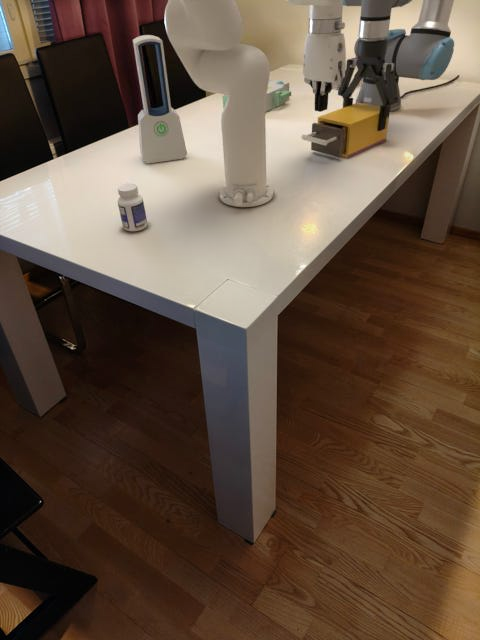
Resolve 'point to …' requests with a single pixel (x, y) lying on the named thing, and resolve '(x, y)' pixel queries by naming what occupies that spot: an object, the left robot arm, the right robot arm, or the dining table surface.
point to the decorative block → (272, 94)
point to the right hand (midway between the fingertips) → (363, 126)
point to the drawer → (328, 138)
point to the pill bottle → (131, 208)
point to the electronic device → (157, 113)
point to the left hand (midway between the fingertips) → (320, 110)
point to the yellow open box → (358, 126)
